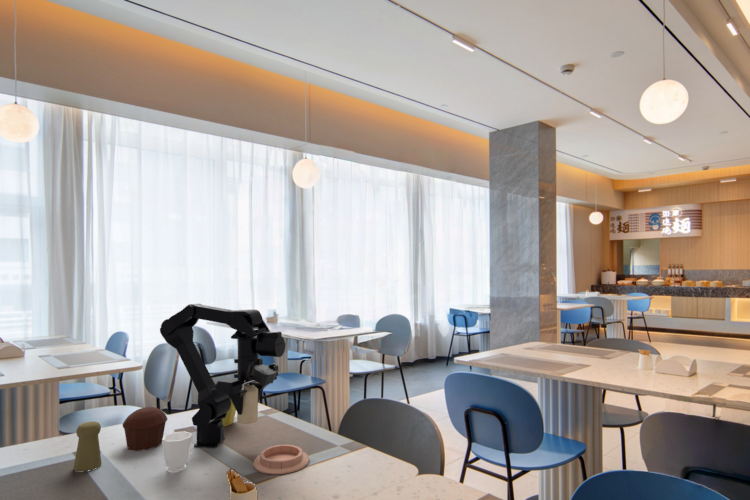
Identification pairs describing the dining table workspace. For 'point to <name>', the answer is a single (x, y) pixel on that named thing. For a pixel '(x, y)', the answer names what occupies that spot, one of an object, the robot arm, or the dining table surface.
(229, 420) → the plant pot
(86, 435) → the cork
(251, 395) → the candle
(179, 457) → the cup
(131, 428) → the muffin
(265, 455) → the candle dish
